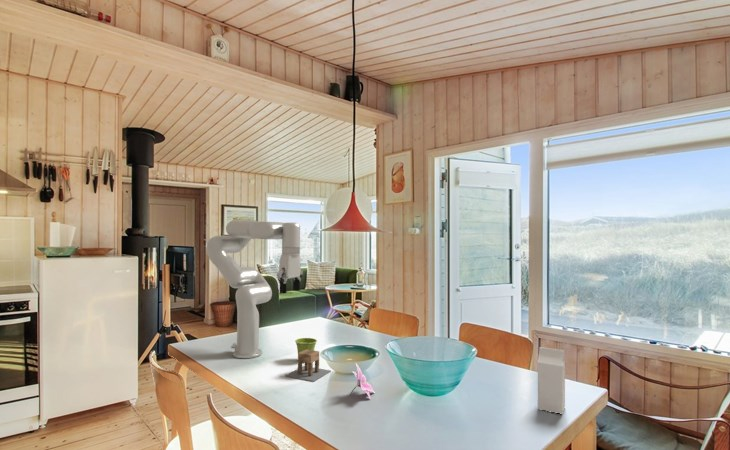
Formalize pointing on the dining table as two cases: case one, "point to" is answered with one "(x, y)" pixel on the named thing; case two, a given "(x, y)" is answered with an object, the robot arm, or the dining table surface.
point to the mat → (305, 374)
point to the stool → (308, 361)
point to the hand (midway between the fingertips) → (290, 291)
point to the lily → (362, 382)
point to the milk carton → (551, 380)
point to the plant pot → (305, 344)
